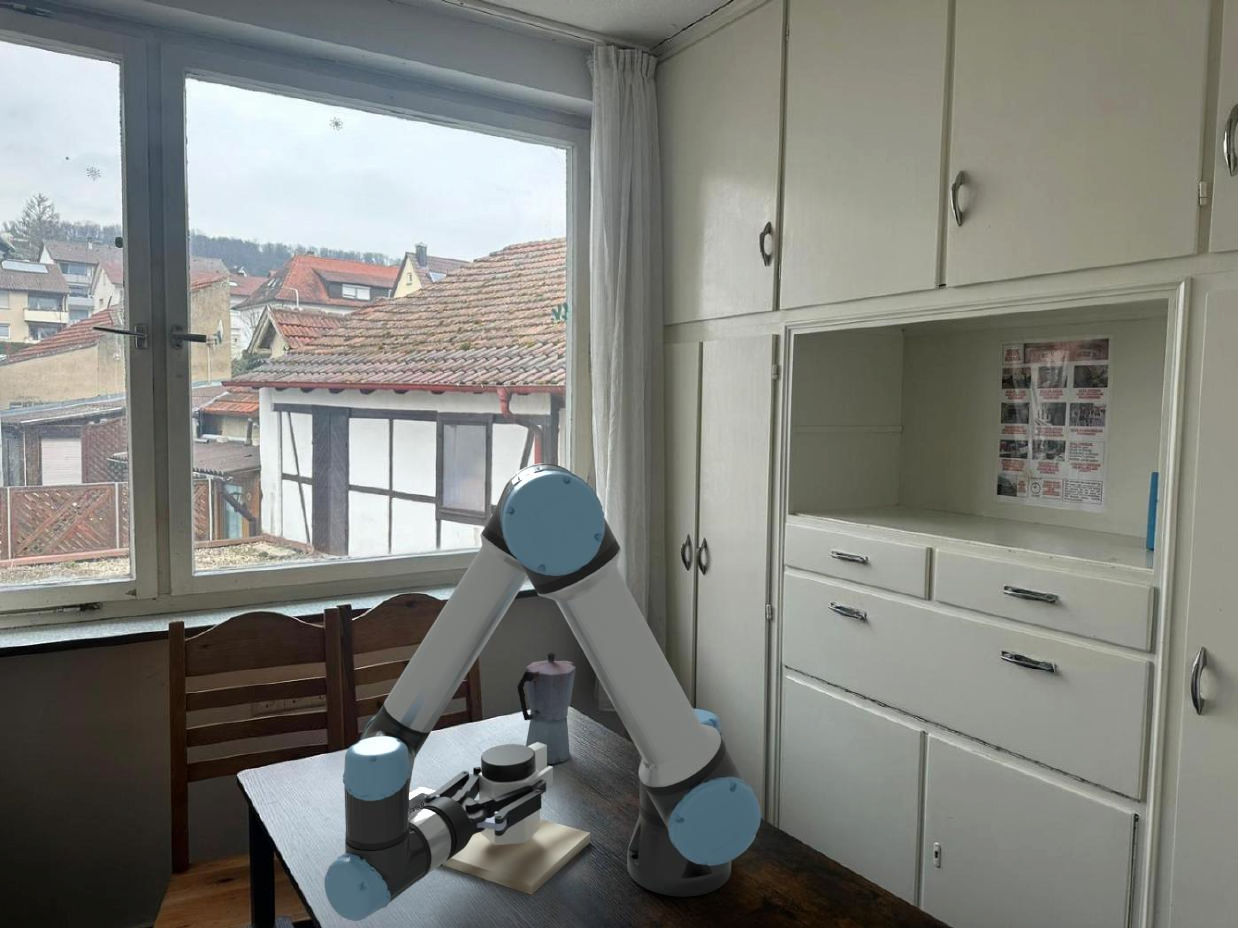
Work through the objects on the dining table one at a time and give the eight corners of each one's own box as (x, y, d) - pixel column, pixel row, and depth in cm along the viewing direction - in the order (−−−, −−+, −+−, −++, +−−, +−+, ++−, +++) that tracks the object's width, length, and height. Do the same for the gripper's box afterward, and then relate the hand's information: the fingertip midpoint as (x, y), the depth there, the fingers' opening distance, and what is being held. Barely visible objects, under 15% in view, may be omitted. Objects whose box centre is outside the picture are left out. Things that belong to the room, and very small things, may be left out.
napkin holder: (481, 800, 146) (481, 767, 146) (477, 772, 157) (477, 741, 157) (568, 791, 150) (568, 759, 149) (557, 764, 161) (557, 734, 160)
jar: (479, 847, 124) (476, 767, 123) (481, 821, 132) (479, 745, 131) (541, 842, 125) (539, 763, 124) (539, 816, 133) (537, 741, 132)
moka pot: (590, 748, 167) (590, 648, 165) (542, 778, 154) (541, 669, 152) (551, 738, 172) (550, 641, 170) (501, 766, 159) (500, 660, 157)
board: (590, 842, 131) (590, 832, 131) (531, 894, 117) (531, 884, 117) (495, 814, 140) (495, 805, 140) (430, 860, 126) (430, 851, 126)
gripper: (375, 843, 117) (479, 779, 137) (492, 883, 108) (585, 807, 128) (375, 791, 117) (478, 733, 137) (492, 826, 107) (585, 759, 127)
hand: (530, 769), depth 132 cm, fingers closed on jar, 7 cm apart
